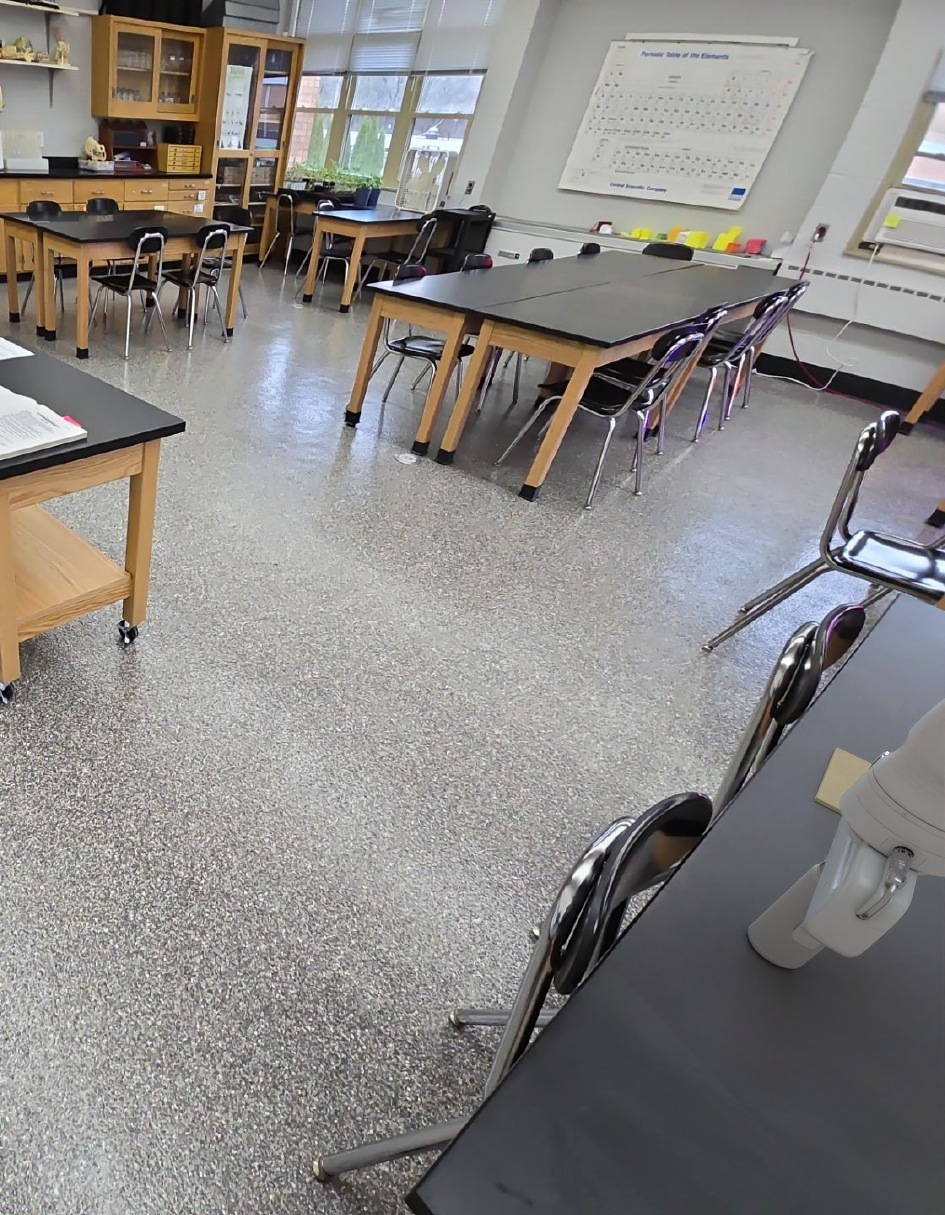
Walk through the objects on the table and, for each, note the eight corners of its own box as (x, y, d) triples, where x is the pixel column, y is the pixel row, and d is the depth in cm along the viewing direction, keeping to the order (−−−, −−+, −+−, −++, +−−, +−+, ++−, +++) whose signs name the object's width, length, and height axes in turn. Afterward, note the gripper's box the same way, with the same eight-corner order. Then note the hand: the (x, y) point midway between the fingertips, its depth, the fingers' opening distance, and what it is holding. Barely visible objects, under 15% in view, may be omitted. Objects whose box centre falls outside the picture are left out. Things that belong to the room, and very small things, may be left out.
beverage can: (734, 935, 74) (804, 868, 67) (763, 919, 76) (835, 852, 69) (782, 978, 71) (862, 913, 64) (811, 961, 73) (893, 895, 65)
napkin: (834, 750, 97) (837, 747, 96) (876, 770, 94) (879, 767, 94) (813, 800, 89) (816, 797, 89) (858, 823, 87) (861, 820, 86)
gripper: (950, 922, 53) (831, 1007, 62) (974, 783, 65) (871, 871, 73) (846, 864, 57) (746, 952, 65) (886, 742, 68) (797, 830, 77)
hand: (812, 908), depth 69 cm, fingers open, 8 cm apart
